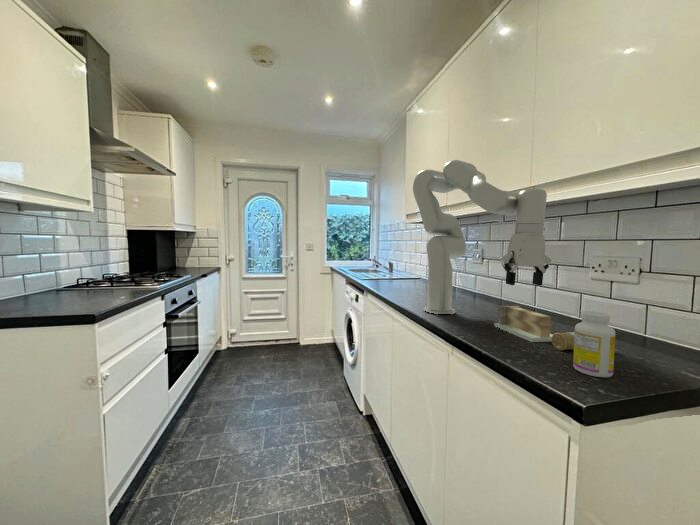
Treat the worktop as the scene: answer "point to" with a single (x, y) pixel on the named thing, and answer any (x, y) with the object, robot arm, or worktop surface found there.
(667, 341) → the worktop surface
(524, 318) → the light brown wooden block
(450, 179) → the robot arm
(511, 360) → the worktop surface
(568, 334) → the sprinkles bottle
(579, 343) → the supplement bottle
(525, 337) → the board
